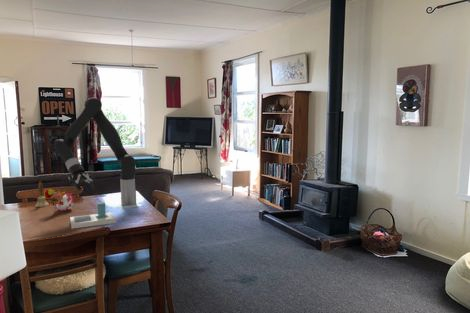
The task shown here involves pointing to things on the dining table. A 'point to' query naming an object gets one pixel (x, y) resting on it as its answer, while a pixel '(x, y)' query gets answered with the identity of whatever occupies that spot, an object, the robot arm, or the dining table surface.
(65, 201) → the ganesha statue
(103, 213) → the teal block
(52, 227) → the dining table surface
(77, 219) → the slate pad
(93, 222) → the well board
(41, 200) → the hand bell
